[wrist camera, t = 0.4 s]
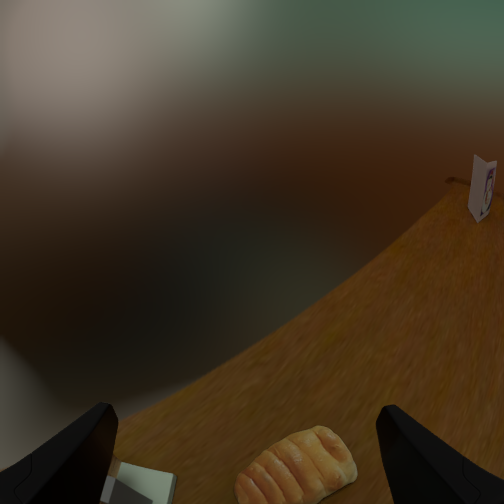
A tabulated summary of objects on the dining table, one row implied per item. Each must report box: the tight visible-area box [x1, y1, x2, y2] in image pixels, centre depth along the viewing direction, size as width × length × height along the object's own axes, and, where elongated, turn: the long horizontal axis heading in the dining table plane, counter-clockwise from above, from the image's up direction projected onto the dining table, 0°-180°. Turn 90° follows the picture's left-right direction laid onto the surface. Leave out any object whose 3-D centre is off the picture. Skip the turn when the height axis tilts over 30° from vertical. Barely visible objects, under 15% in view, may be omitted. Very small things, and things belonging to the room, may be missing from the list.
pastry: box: [234, 426, 357, 504], centre depth 17 cm, size 9×7×4 cm
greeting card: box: [468, 155, 497, 223], centre depth 54 cm, size 11×7×15 cm, turn 119°
